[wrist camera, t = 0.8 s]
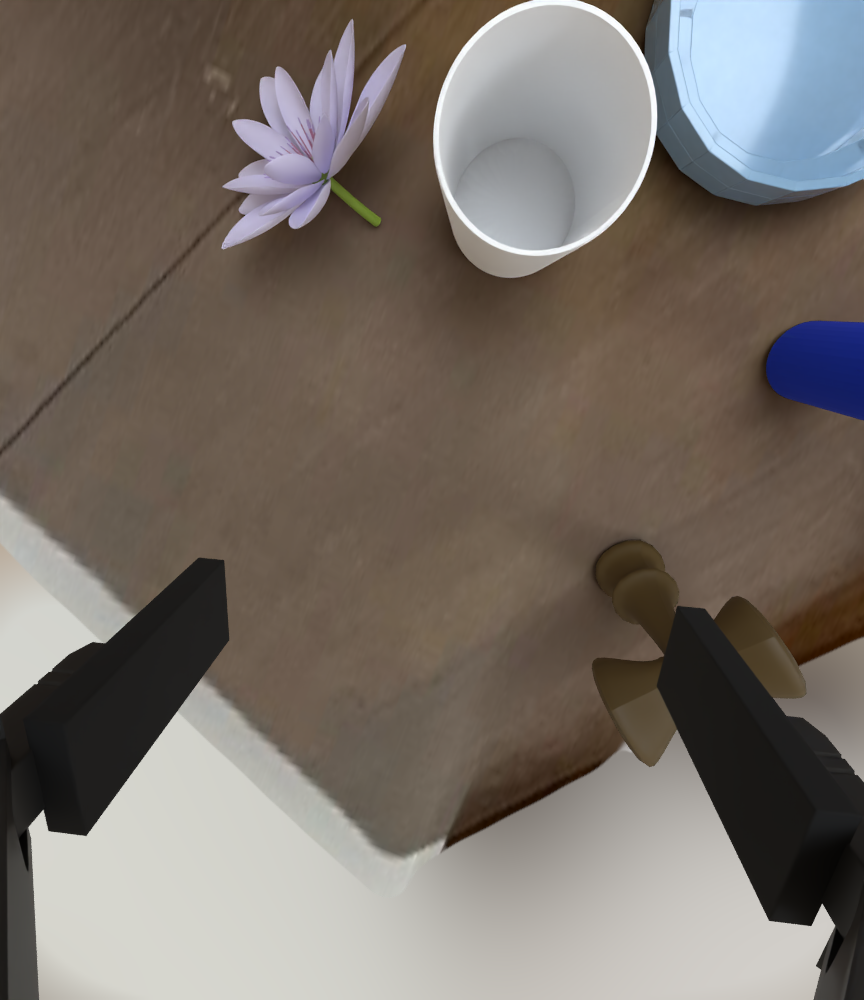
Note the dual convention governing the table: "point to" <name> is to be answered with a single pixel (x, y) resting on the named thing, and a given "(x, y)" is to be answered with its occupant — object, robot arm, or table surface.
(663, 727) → the kendama
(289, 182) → the water lily
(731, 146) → the bowl
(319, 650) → the table surface
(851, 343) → the beverage can
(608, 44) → the cup
